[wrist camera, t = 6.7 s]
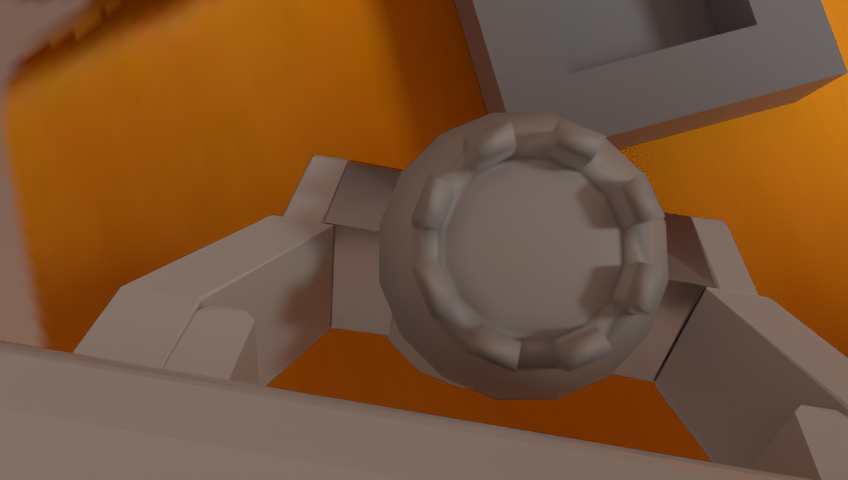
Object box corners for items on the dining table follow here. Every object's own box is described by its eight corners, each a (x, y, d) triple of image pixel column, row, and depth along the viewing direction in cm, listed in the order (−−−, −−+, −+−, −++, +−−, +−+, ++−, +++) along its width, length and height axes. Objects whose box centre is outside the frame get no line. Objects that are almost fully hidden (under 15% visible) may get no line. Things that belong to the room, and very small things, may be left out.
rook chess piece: (595, 363, 14) (824, 427, 6) (394, 405, 14) (355, 527, 6) (549, 166, 14) (704, -17, 6) (355, 205, 14) (271, 68, 6)
